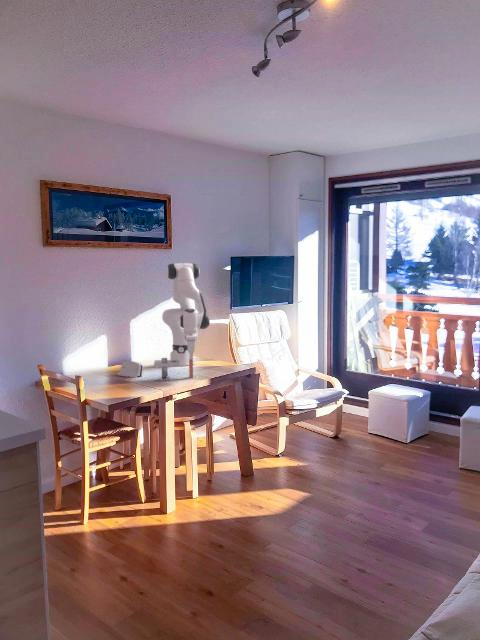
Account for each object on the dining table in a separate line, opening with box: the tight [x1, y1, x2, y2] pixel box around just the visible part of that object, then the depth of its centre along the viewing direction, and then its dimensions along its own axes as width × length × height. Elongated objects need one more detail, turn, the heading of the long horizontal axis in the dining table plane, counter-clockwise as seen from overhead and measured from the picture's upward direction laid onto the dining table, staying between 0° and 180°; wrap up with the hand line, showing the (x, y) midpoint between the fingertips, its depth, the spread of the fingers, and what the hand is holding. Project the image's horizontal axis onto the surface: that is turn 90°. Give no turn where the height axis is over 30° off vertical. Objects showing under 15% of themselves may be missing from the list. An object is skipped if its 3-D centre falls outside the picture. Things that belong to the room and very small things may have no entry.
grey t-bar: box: [153, 357, 181, 382], centre depth 334 cm, size 10×15×13 cm, turn 96°
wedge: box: [188, 358, 194, 379], centre depth 339 cm, size 2×2×12 cm
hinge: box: [117, 360, 144, 379], centre depth 347 cm, size 17×5×10 cm, turn 58°
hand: (191, 358), depth 338 cm, fingers open, 8 cm apart
